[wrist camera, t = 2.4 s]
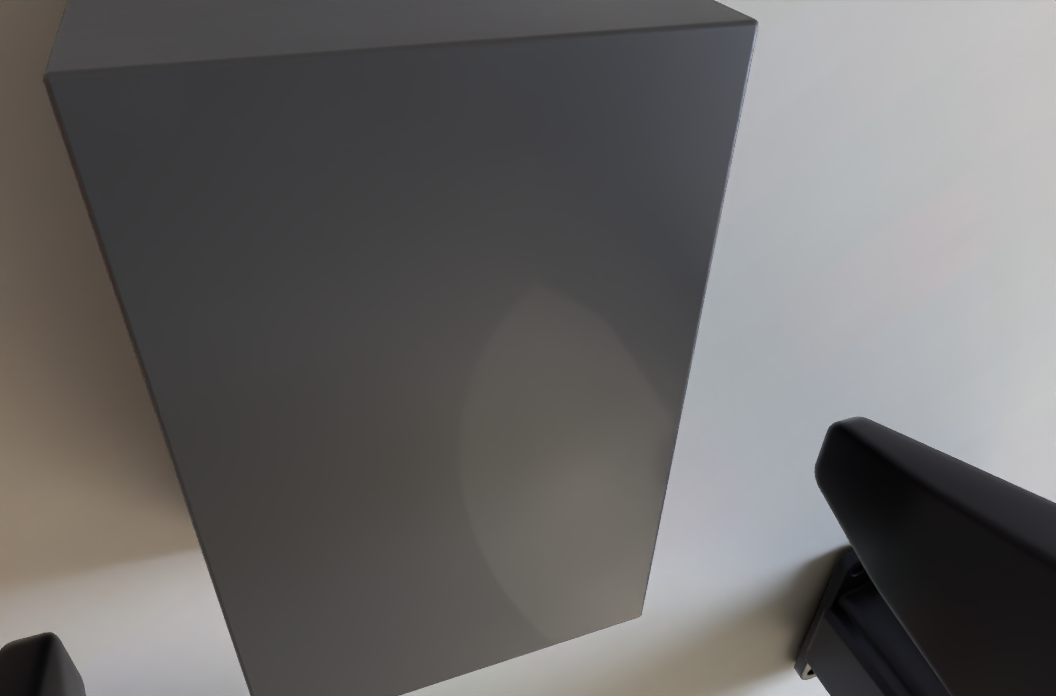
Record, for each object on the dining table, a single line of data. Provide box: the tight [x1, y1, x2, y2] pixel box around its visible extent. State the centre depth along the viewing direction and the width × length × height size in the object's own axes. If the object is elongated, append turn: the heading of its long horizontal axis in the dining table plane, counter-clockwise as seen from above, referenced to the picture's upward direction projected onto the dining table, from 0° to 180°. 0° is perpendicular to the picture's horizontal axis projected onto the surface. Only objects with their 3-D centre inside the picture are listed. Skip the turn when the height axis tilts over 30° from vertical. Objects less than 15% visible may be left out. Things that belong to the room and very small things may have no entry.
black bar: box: [43, 0, 758, 696], centre depth 11 cm, size 6×10×4 cm, turn 178°
